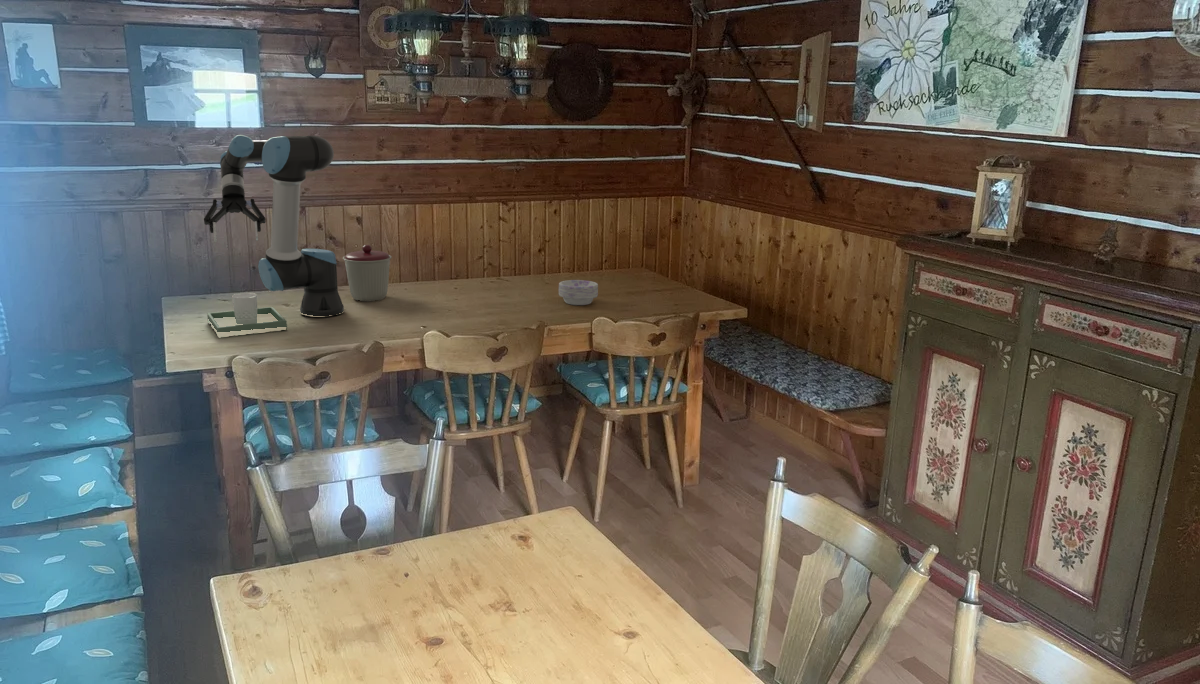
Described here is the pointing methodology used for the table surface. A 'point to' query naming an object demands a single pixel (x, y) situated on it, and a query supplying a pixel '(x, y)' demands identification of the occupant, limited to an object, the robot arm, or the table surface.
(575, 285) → the paper bowls
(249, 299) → the white cup
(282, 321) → the green box
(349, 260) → the canister
